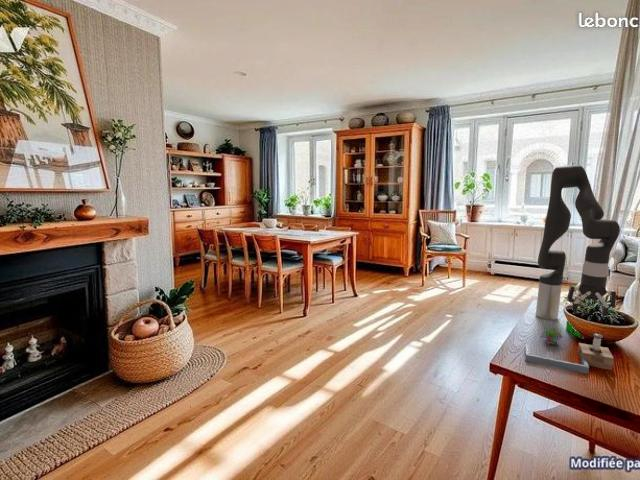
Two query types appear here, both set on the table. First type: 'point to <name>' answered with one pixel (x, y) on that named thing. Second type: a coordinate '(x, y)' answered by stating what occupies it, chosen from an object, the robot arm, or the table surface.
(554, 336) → the geometric puzzle
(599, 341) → the cylinder
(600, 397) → the table surface
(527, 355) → the open frame
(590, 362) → the slotted tan block
